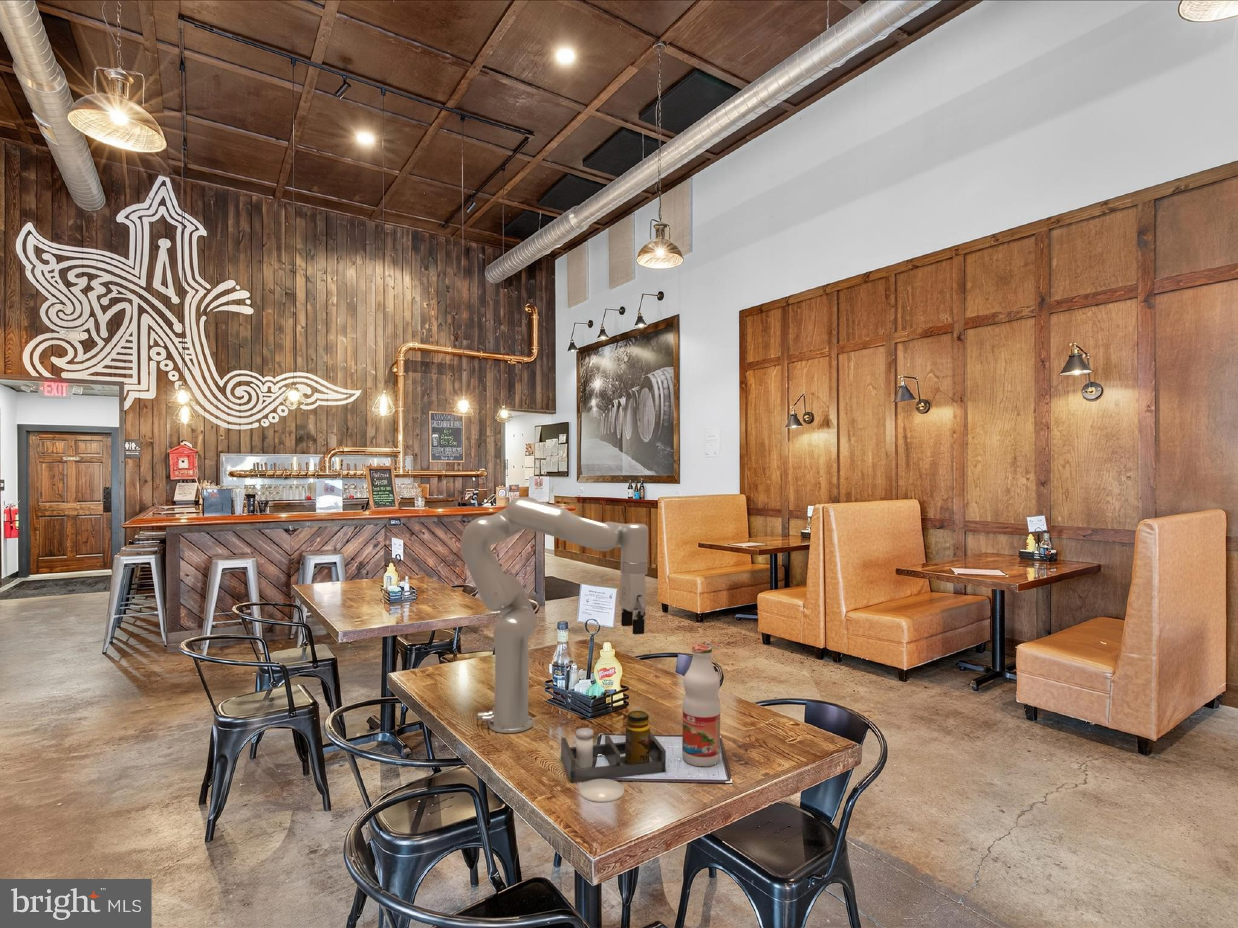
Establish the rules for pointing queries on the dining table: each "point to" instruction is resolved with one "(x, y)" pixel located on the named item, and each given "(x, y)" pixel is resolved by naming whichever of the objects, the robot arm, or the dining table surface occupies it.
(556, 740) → the dining table surface
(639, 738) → the condiment
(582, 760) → the salt shaker
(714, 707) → the fruit juice
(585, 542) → the robot arm
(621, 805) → the dining table surface
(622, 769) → the caddy
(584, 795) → the coaster
